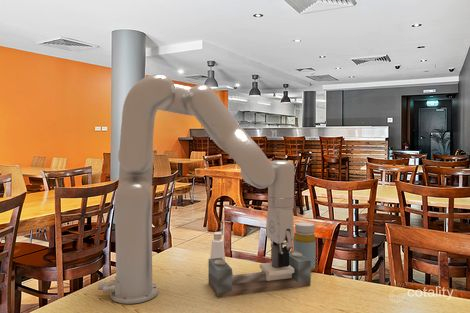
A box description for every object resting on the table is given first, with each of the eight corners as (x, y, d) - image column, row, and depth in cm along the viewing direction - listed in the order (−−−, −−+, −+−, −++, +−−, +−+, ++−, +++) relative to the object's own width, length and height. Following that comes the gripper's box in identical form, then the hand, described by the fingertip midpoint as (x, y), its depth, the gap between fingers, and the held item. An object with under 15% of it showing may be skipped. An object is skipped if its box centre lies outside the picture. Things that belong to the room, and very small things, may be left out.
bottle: (316, 273, 120) (317, 226, 120) (294, 272, 121) (295, 226, 120) (312, 265, 127) (313, 221, 127) (291, 265, 128) (292, 221, 127)
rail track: (217, 298, 101) (217, 268, 101) (208, 284, 111) (208, 256, 110) (310, 285, 110) (311, 258, 110) (294, 273, 120) (294, 248, 119)
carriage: (268, 282, 108) (269, 250, 107) (259, 274, 114) (260, 244, 114) (294, 279, 110) (294, 248, 110) (283, 271, 117) (284, 241, 116)
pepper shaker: (209, 262, 130) (209, 230, 129) (225, 262, 130) (225, 230, 129) (209, 267, 124) (209, 234, 124) (225, 267, 125) (226, 234, 124)
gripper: (258, 198, 118) (257, 256, 119) (281, 208, 102) (280, 275, 103) (280, 197, 120) (279, 254, 121) (306, 207, 104) (305, 272, 105)
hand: (279, 263), depth 112 cm, fingers open, 4 cm apart
